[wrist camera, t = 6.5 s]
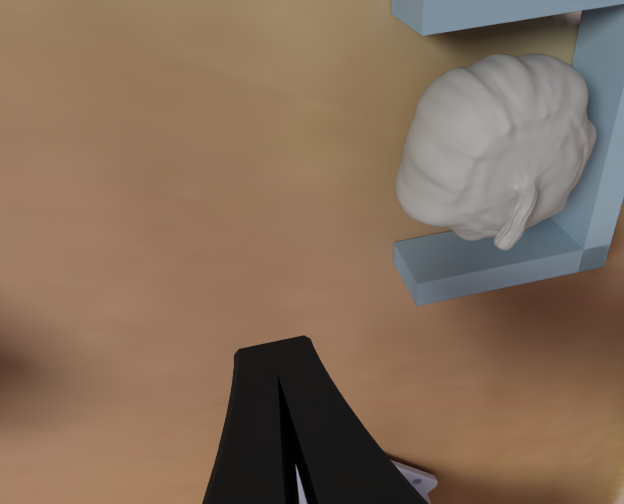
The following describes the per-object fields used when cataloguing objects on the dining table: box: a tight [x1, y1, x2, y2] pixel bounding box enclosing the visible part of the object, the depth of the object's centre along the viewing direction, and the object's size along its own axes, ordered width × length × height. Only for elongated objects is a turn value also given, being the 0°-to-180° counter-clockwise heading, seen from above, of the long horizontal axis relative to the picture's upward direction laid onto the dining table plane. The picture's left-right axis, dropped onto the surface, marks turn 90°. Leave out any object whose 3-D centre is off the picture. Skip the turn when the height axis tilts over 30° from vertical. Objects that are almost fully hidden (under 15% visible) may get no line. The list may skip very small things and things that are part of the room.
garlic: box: [395, 54, 597, 250], centre depth 16 cm, size 6×5×5 cm
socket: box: [391, 0, 624, 306], centre depth 17 cm, size 7×10×2 cm
